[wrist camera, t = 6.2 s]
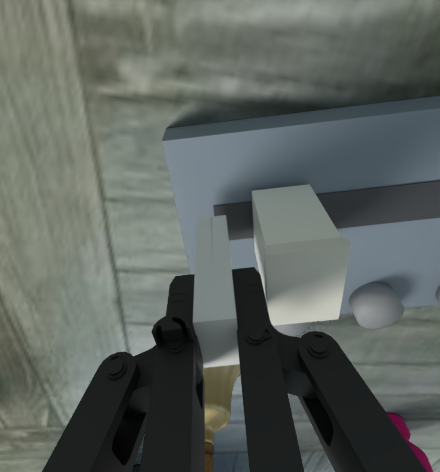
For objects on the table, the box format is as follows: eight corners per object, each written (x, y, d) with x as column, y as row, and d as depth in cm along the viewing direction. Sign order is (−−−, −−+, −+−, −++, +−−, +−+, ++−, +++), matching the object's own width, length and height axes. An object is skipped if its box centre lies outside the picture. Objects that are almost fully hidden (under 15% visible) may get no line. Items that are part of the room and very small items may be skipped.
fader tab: (253, 252, 19) (267, 326, 14) (249, 189, 16) (266, 255, 12) (306, 246, 19) (338, 319, 14) (311, 182, 16) (351, 245, 12)
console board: (202, 307, 25) (202, 352, 21) (166, 128, 16) (156, 157, 13) (514, 275, 24) (562, 316, 21) (637, 71, 16) (749, 87, 13)
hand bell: (252, 377, 31) (286, 641, 18) (170, 388, 32) (147, 651, 19) (240, 323, 26) (275, 631, 13) (144, 338, 27) (87, 645, 14)
